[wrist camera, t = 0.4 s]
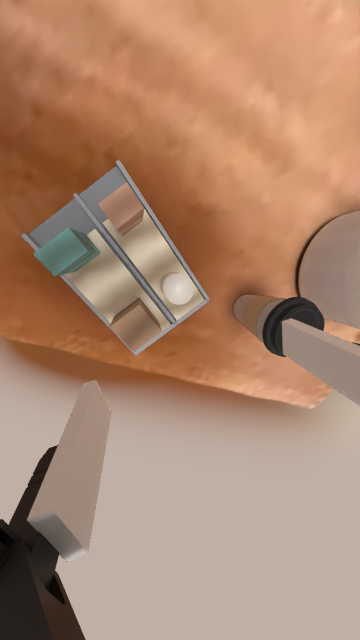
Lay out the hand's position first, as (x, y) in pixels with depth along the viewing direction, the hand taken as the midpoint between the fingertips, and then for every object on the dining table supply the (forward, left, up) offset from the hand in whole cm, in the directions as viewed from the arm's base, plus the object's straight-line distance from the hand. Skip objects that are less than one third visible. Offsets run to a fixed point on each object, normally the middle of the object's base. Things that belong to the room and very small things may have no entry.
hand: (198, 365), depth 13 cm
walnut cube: (0, -6, -22) cm, 23 cm away
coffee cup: (+13, +13, -26) cm, 32 cm away
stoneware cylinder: (-1, +3, -22) cm, 23 cm away
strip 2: (-5, +3, -25) cm, 26 cm away
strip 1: (-5, -6, -25) cm, 27 cm away
